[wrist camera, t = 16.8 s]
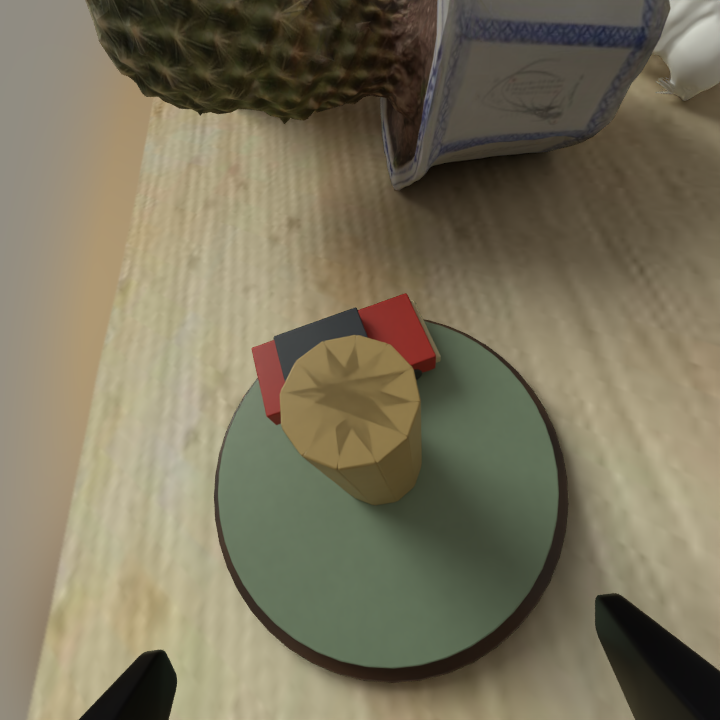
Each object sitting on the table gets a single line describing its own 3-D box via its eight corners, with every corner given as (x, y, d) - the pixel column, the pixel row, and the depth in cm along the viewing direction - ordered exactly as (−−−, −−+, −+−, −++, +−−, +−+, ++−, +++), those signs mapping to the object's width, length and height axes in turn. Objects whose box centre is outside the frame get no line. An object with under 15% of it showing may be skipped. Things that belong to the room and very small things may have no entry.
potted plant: (628, -235, 22) (28, -336, 18) (825, -91, 15) (-112, -200, 10) (497, 90, 38) (163, 81, 33) (561, 237, 31) (145, 251, 26)
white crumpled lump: (733, -130, 27) (840, -30, 22) (660, 16, 35) (729, 110, 30) (638, -105, 27) (724, -2, 23) (587, 34, 35) (644, 130, 31)
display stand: (632, 640, 17) (640, 644, 16) (220, 708, 18) (212, 715, 17) (496, 295, 25) (498, 287, 25) (219, 355, 26) (214, 349, 26)
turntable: (632, 585, 17) (859, 621, 8) (256, 724, 17) (69, 917, 8) (463, 286, 25) (486, 137, 16) (204, 378, 24) (80, 280, 16)
